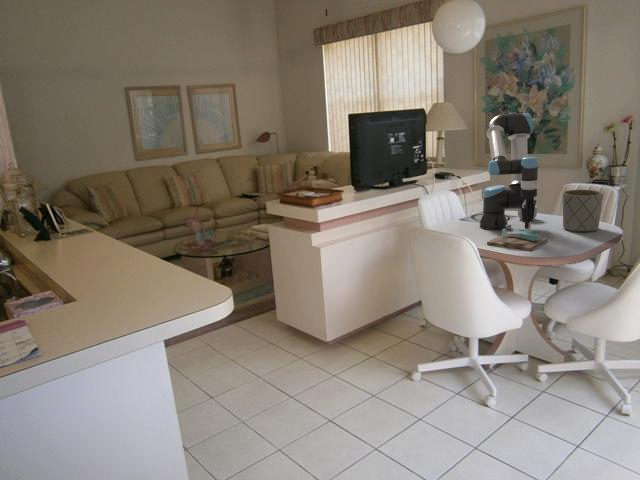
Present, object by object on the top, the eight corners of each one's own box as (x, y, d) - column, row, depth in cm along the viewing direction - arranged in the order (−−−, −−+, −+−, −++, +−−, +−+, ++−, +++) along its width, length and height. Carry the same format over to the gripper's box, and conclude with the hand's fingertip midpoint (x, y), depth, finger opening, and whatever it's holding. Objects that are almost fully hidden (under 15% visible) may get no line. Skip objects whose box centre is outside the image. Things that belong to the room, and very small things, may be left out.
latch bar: (500, 234, 262) (500, 229, 261) (507, 232, 264) (507, 227, 264) (532, 241, 245) (532, 236, 244) (539, 239, 248) (540, 234, 247)
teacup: (534, 222, 289) (535, 208, 287) (515, 221, 295) (515, 207, 293) (538, 217, 301) (539, 204, 299) (519, 216, 306) (520, 203, 304)
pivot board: (487, 244, 252) (487, 231, 250) (505, 235, 266) (506, 223, 264) (530, 251, 236) (531, 237, 235) (547, 241, 251) (548, 228, 249)
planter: (605, 233, 257) (608, 195, 252) (566, 233, 261) (568, 196, 256) (593, 224, 275) (596, 188, 270) (556, 225, 279) (558, 190, 274)
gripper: (530, 191, 241) (529, 238, 247) (542, 186, 249) (540, 232, 255) (515, 190, 246) (514, 236, 252) (527, 186, 255) (525, 230, 261)
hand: (527, 234), depth 254 cm, fingers closed
